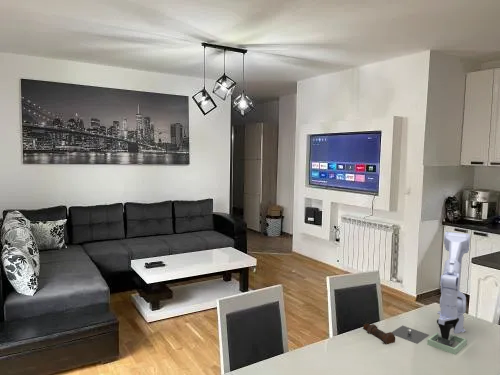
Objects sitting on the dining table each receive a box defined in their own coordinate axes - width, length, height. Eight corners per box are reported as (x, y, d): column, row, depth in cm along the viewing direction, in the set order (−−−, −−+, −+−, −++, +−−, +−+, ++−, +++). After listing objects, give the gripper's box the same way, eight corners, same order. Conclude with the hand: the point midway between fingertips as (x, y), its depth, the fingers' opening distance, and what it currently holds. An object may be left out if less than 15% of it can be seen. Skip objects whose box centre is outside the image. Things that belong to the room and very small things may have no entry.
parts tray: (439, 337, 156) (439, 330, 156) (466, 346, 149) (466, 339, 148) (427, 346, 148) (427, 339, 148) (454, 357, 140) (455, 349, 140)
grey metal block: (453, 342, 148) (453, 326, 148) (449, 345, 145) (449, 330, 145) (442, 338, 152) (442, 323, 151) (438, 342, 149) (437, 326, 149)
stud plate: (402, 327, 165) (402, 320, 165) (429, 337, 156) (430, 329, 156) (389, 335, 157) (389, 328, 157) (417, 346, 148) (417, 338, 148)
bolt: (366, 334, 163) (391, 349, 149) (359, 330, 161) (383, 344, 147) (372, 322, 164) (397, 335, 150) (364, 318, 162) (389, 331, 148)
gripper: (445, 297, 155) (444, 328, 156) (431, 305, 145) (429, 338, 146) (463, 301, 150) (462, 333, 151) (449, 311, 140) (448, 345, 141)
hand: (447, 336), depth 148 cm, fingers closed on grey metal block, 4 cm apart
